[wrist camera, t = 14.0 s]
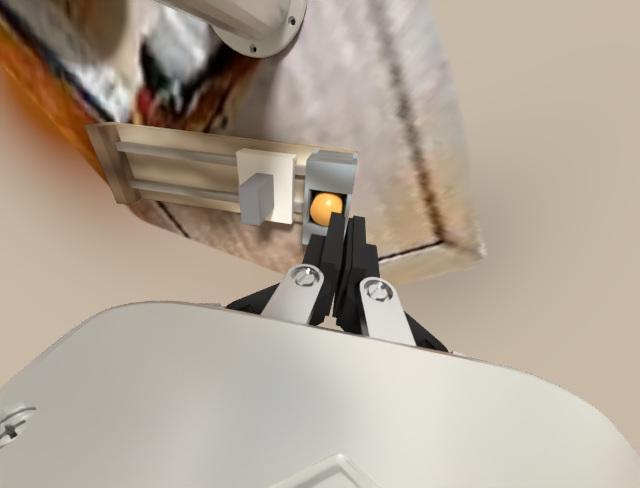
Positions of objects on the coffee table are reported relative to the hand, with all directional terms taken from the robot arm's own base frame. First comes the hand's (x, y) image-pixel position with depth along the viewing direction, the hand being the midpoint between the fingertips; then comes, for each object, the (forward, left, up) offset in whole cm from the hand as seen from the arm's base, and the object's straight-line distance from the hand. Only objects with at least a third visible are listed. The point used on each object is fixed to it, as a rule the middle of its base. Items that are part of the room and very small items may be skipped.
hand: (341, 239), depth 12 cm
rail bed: (+7, -19, -26) cm, 33 cm away
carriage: (+7, -12, -24) cm, 28 cm away
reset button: (+7, -3, -22) cm, 24 cm away
